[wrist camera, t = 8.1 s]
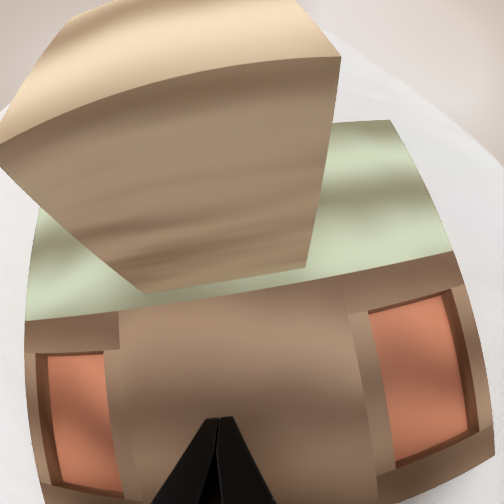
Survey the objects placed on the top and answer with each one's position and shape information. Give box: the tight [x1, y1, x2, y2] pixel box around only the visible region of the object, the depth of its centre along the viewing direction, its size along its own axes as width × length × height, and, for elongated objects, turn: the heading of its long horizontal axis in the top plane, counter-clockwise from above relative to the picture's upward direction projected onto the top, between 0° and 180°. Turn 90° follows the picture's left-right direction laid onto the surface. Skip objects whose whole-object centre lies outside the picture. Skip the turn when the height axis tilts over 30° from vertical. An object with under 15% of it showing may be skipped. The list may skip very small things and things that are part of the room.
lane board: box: [24, 120, 495, 504], centre depth 15 cm, size 22×25×2 cm
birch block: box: [0, 0, 341, 294], centre depth 12 cm, size 8×8×11 cm
